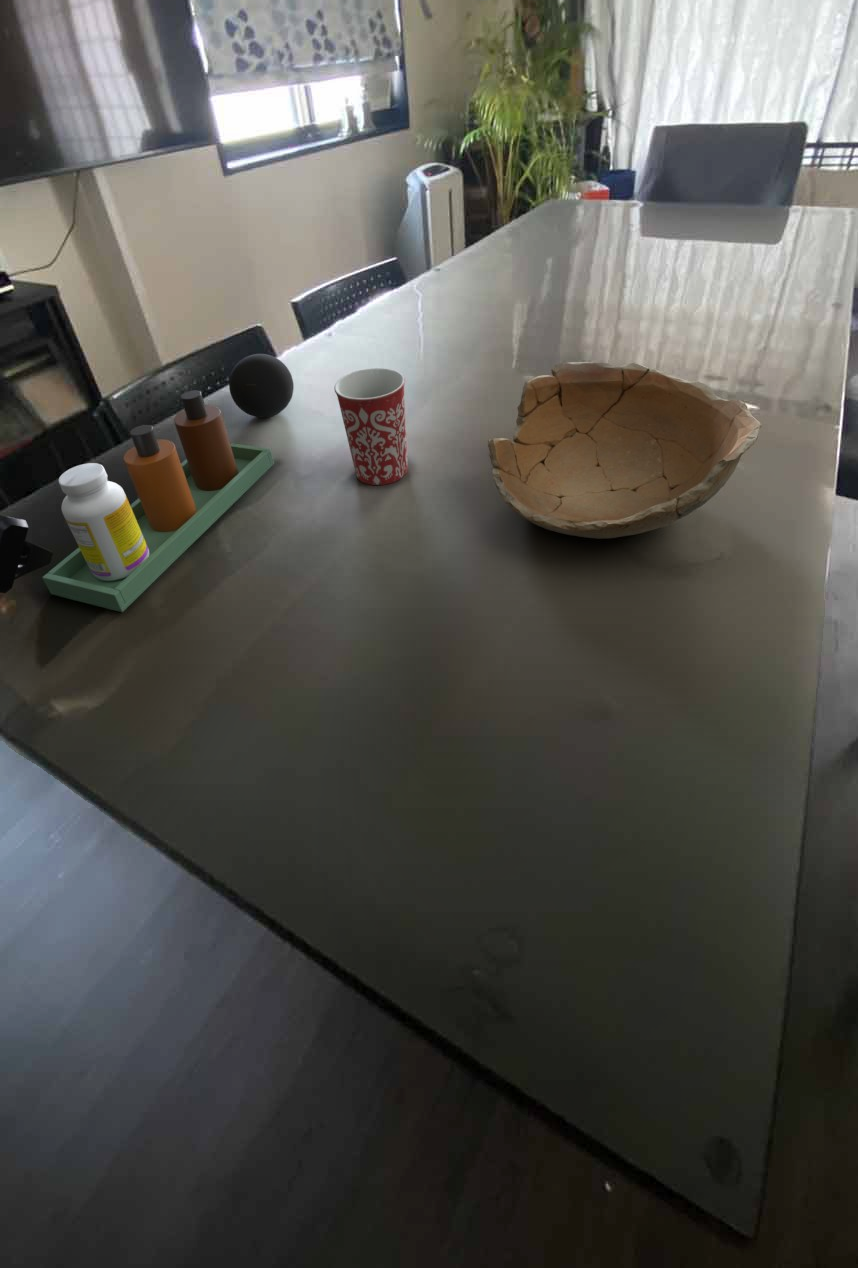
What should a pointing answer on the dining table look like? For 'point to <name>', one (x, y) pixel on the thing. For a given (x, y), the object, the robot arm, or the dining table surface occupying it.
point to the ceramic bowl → (617, 449)
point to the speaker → (261, 385)
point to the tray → (158, 539)
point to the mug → (375, 423)
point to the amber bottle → (159, 480)
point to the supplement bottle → (102, 522)
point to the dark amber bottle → (205, 443)
